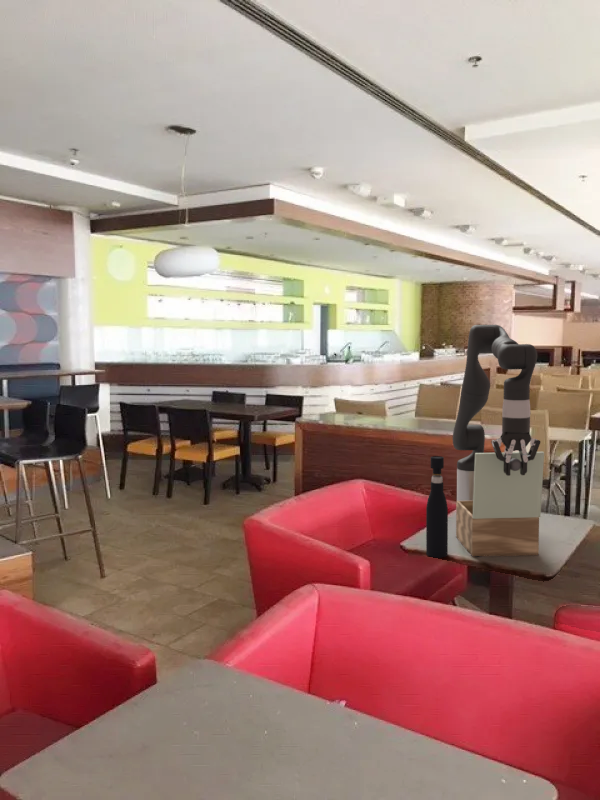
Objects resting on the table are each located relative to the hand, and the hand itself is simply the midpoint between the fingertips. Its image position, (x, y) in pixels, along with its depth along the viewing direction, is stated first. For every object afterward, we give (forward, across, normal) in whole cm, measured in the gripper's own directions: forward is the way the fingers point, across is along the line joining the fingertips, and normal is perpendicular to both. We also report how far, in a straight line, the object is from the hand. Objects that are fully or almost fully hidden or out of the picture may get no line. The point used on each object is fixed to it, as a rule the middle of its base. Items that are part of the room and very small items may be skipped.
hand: (515, 474), depth 197 cm
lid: (+5, 0, -7) cm, 8 cm away
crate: (+27, 0, -18) cm, 32 cm away
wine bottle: (+27, +20, -11) cm, 35 cm away
